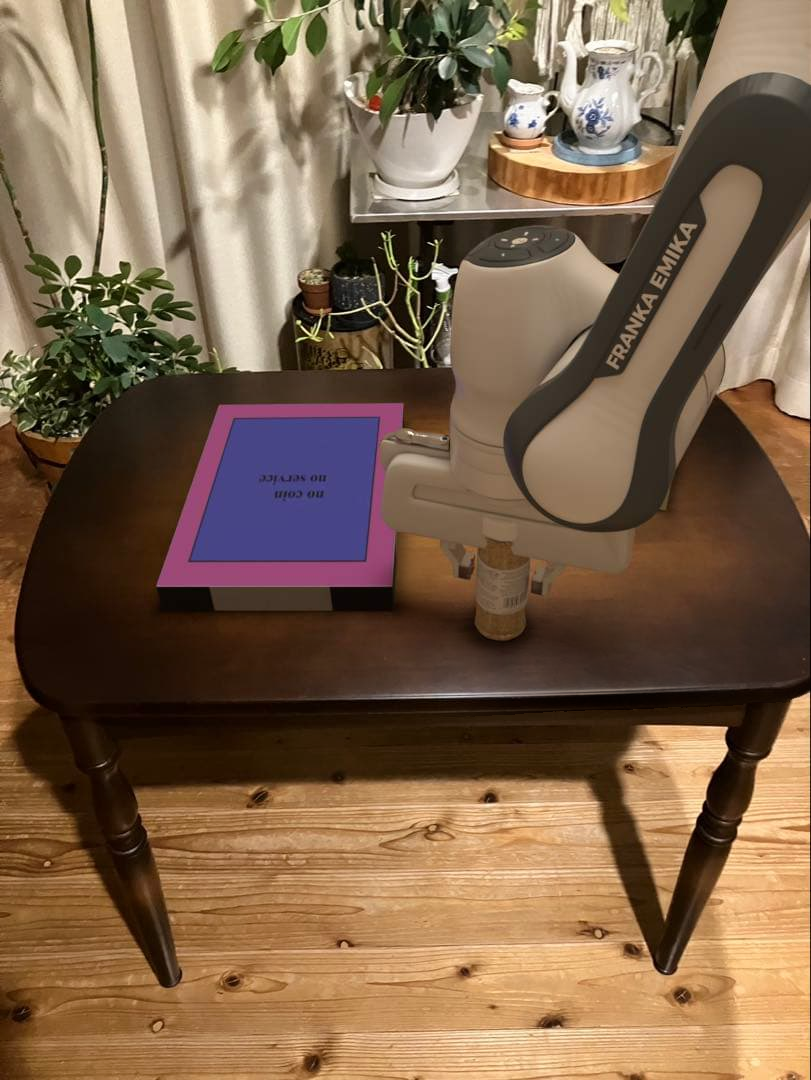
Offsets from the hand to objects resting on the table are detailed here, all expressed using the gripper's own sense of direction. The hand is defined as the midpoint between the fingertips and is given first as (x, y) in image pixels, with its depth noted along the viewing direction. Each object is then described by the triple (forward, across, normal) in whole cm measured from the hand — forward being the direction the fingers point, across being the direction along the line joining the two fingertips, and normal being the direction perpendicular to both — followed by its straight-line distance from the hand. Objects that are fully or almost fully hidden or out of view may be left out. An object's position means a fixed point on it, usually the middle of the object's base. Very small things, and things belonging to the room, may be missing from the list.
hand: (502, 582), depth 77 cm
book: (+5, -24, +10) cm, 27 cm away
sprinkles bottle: (+5, 0, 0) cm, 5 cm away
